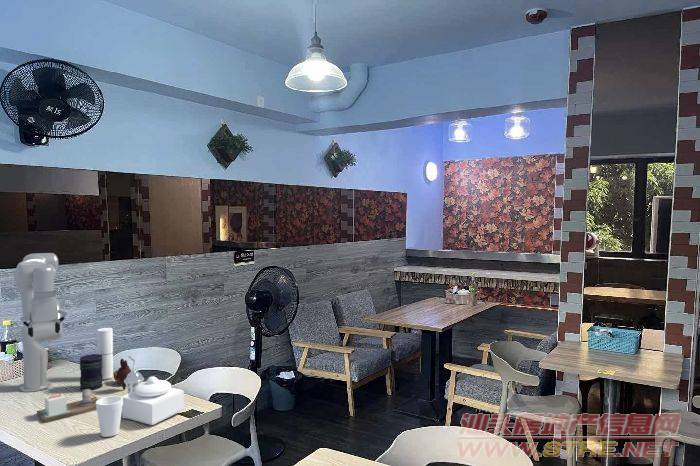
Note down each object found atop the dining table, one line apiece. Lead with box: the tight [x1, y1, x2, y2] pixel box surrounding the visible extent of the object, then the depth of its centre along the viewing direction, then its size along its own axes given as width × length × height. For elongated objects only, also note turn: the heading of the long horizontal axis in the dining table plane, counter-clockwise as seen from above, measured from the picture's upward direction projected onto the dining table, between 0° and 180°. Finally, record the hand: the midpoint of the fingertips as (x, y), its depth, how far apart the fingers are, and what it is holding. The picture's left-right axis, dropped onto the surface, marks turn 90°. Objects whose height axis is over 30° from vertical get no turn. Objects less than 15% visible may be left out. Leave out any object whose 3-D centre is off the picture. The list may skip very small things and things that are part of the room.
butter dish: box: [121, 375, 185, 426], centre depth 207 cm, size 18×18×16 cm
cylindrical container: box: [96, 327, 114, 380], centre depth 252 cm, size 7×7×25 cm
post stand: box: [36, 389, 99, 424], centre depth 209 cm, size 12×23×8 cm, turn 135°
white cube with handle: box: [44, 393, 67, 416], centre depth 204 cm, size 6×6×7 cm
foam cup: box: [95, 395, 123, 438], centre depth 188 cm, size 10×9×13 cm
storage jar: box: [79, 353, 104, 391], centre depth 237 cm, size 10×10×15 cm
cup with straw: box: [124, 355, 145, 394], centre depth 219 cm, size 8×9×20 cm
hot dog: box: [113, 369, 122, 386], centre depth 244 cm, size 5×13×5 cm, turn 43°
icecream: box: [116, 358, 132, 391], centre depth 233 cm, size 7×7×15 cm
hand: (44, 334), depth 209 cm, fingers open, 9 cm apart
